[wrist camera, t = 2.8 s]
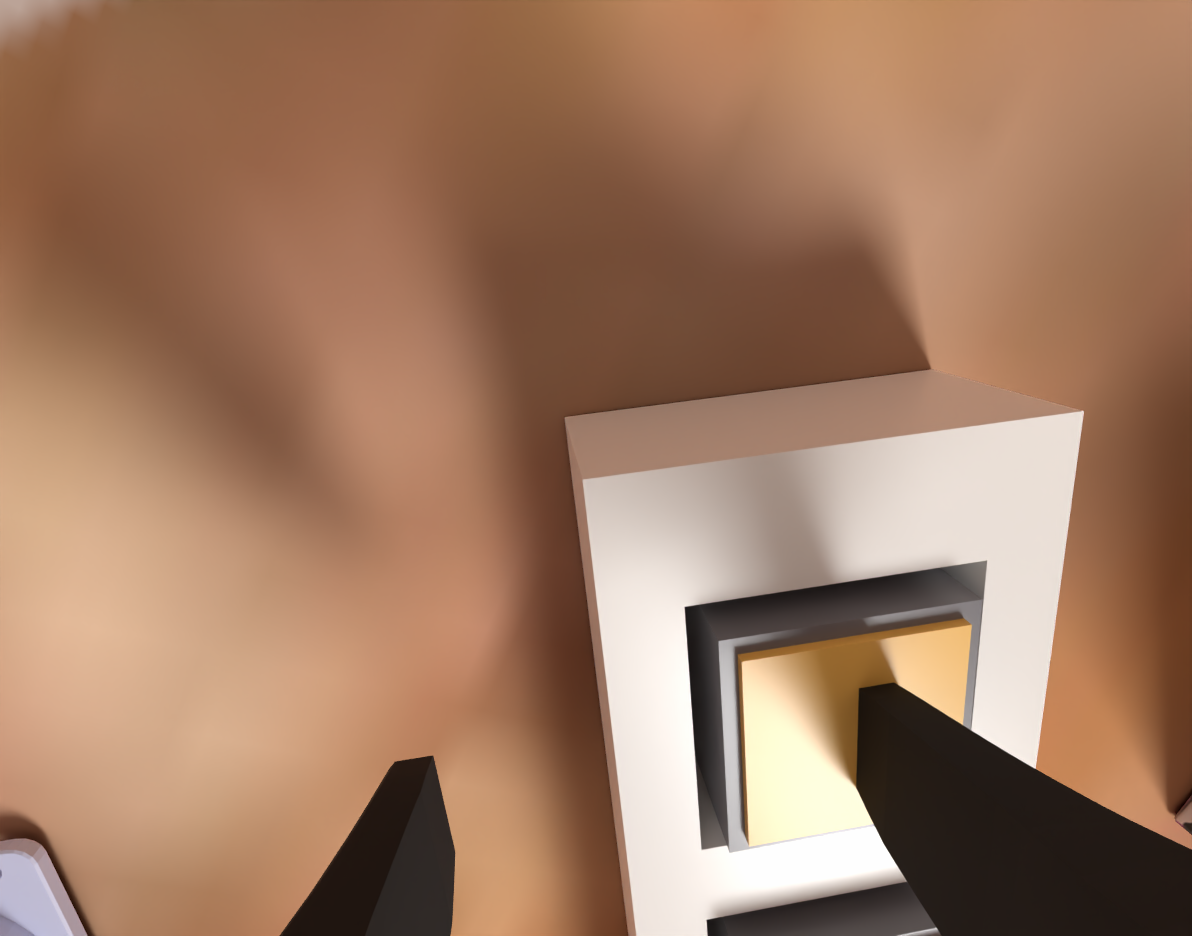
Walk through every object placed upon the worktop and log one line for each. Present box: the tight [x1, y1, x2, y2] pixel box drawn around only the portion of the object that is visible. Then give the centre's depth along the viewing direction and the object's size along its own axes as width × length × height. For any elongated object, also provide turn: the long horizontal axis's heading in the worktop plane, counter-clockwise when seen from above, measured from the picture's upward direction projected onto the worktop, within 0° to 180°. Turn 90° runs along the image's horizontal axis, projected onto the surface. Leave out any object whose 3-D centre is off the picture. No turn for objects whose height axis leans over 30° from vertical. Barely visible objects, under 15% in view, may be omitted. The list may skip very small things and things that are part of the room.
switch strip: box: [564, 369, 1084, 936], centre depth 16 cm, size 8×24×4 cm, turn 6°
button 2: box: [684, 568, 983, 853], centre depth 13 cm, size 4×4×3 cm
